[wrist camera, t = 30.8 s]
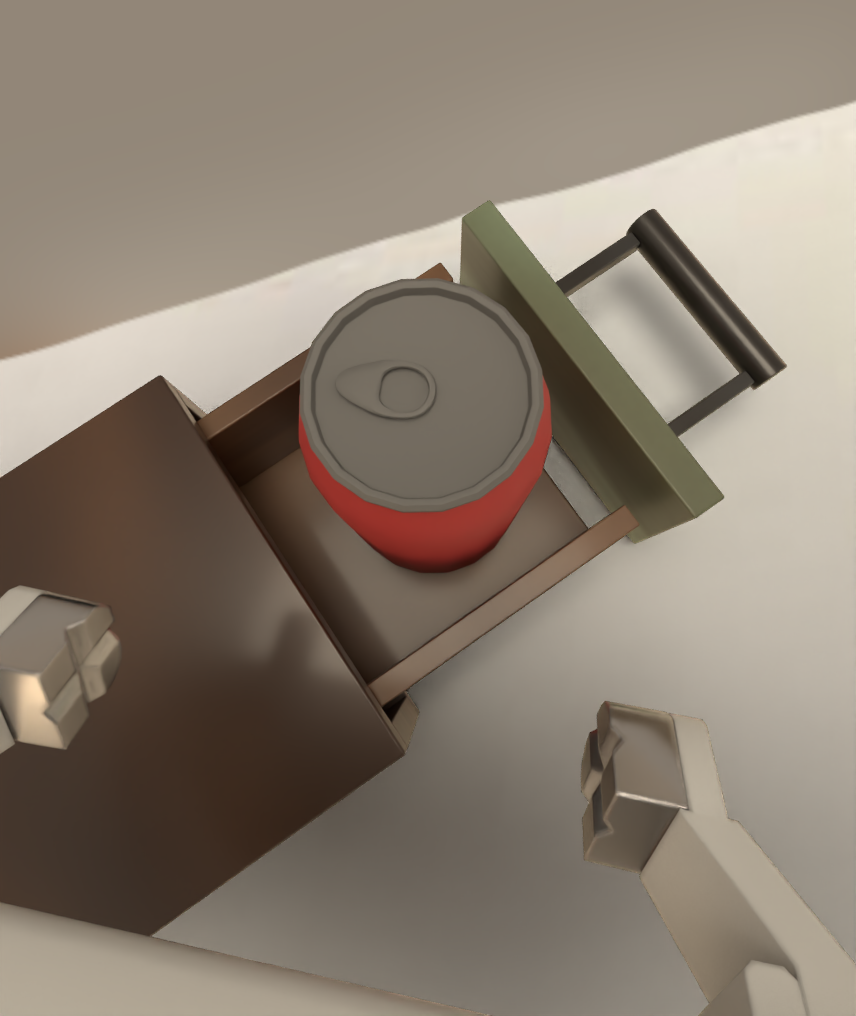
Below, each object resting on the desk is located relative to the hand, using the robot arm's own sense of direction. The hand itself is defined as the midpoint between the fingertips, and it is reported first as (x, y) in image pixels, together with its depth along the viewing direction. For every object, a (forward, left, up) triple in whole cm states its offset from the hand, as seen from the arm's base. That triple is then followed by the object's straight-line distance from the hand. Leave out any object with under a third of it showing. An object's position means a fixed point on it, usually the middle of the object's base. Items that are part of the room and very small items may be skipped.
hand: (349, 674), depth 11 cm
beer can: (-4, -4, -15) cm, 16 cm away
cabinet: (+9, -4, -17) cm, 20 cm away
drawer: (-7, -4, -16) cm, 18 cm away
